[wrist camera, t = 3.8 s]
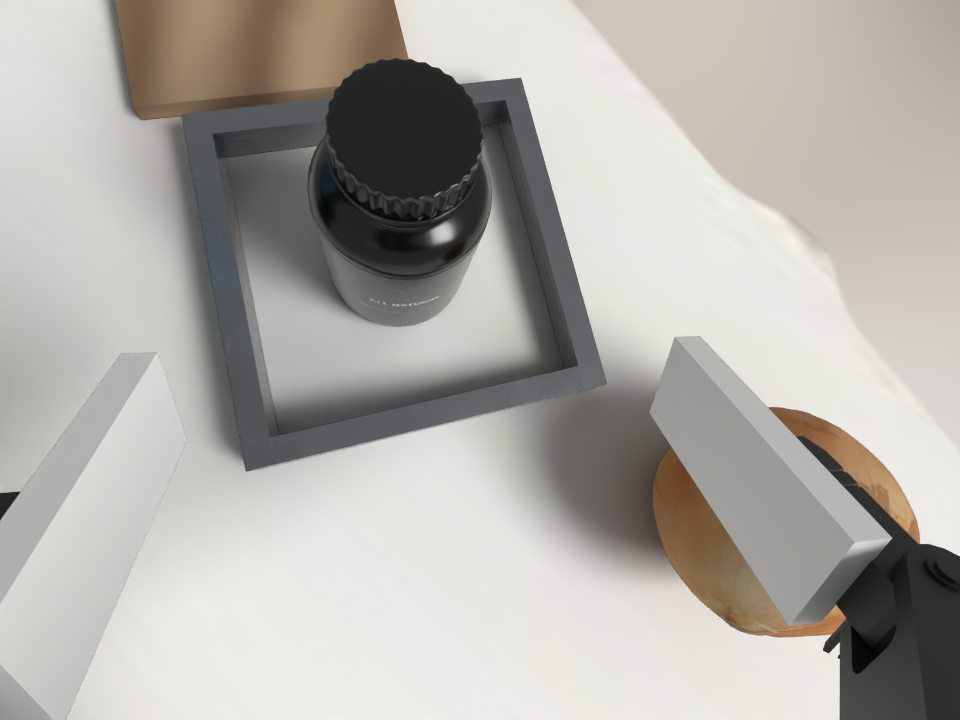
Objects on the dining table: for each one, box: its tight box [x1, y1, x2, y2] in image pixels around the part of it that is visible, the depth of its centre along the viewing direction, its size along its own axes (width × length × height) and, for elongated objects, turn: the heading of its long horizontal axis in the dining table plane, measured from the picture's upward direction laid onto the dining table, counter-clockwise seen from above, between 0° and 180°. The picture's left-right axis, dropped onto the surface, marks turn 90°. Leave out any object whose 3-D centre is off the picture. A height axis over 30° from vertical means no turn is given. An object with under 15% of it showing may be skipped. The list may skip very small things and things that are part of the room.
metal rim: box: [182, 78, 607, 472], centre depth 26 cm, size 17×17×2 cm
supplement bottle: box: [307, 58, 492, 327], centre depth 21 cm, size 7×7×12 cm
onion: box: [653, 407, 920, 637], centre depth 23 cm, size 10×10×10 cm
